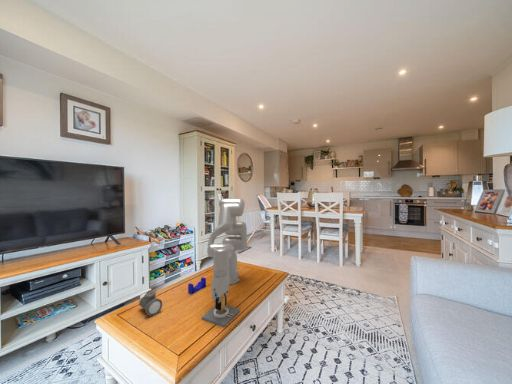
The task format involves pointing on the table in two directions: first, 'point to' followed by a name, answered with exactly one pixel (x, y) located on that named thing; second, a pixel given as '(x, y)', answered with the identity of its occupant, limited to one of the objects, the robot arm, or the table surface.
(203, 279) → the cable clip
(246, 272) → the table surface
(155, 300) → the pipe fitting
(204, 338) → the table surface
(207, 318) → the plate
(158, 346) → the table surface
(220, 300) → the tan wooden peg
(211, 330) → the table surface
